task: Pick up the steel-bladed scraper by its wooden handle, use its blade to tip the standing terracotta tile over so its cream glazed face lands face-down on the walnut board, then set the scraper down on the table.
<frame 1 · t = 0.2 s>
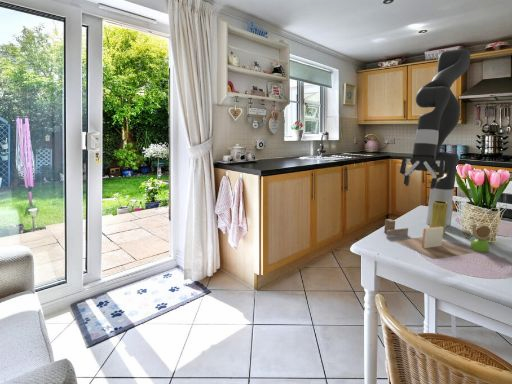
hand: (419, 187, 117), 22 cm above the table, tool pointing down, fingers open, 8 cm apart
scraper: (388, 236, 130), on the table
snail figurine: (477, 254, 113), on the table
vase: (436, 236, 132), on the table
tile: (431, 246, 115), point 1 cm above the table, touching board
pacifier: (474, 244, 122), on the table
board: (431, 250, 115), on the table
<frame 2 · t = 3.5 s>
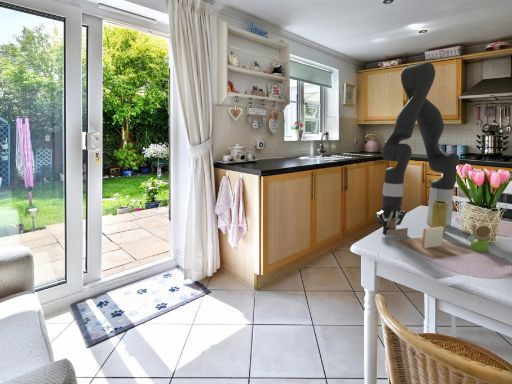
hand: (388, 235, 130), 1 cm above the table, tool pointing down, fingers closed on scraper, 2 cm apart
scraper: (388, 236, 130), on the table, touching gripper
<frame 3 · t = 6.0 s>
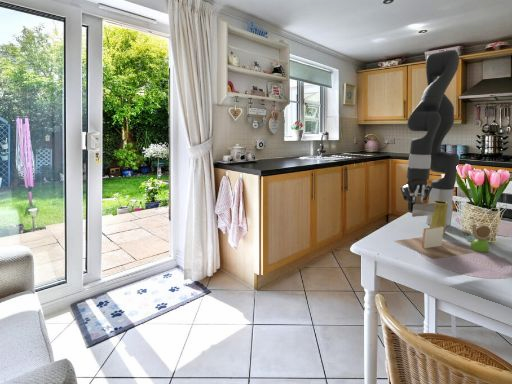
hand: (413, 211, 122), 12 cm above the table, tool pointing down, fingers closed on scraper, 2 cm apart
scraper: (413, 212, 122), point 12 cm above the table, touching gripper
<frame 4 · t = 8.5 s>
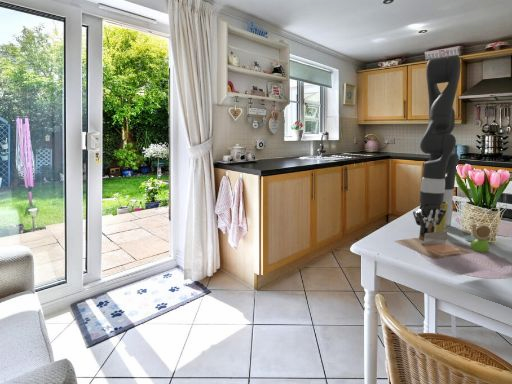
hand: (426, 236, 117), 5 cm above the table, tool pointing down, fingers closed on scraper
scraper: (424, 240, 118), point 3 cm above the table, touching gripper
tile: (433, 245, 114), point 2 cm above the table, tilted 90°, touching board
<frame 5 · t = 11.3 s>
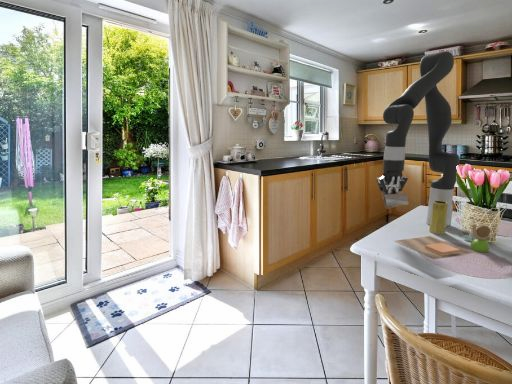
hand: (390, 202, 125), 15 cm above the table, tool pointing down, fingers closed on scraper
scraper: (390, 207, 125), point 13 cm above the table, tilted 27°, touching gripper
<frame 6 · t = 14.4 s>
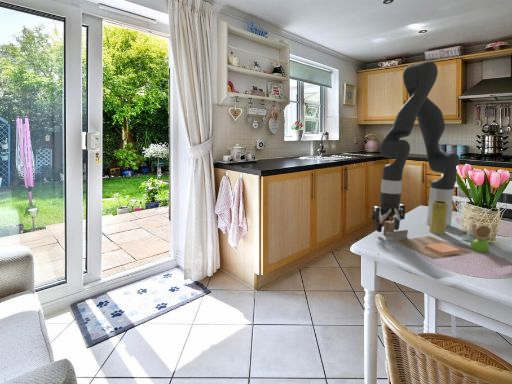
hand: (387, 230, 128), 3 cm above the table, tool pointing down, fingers open, 8 cm apart
scraper: (388, 238, 127), on the table
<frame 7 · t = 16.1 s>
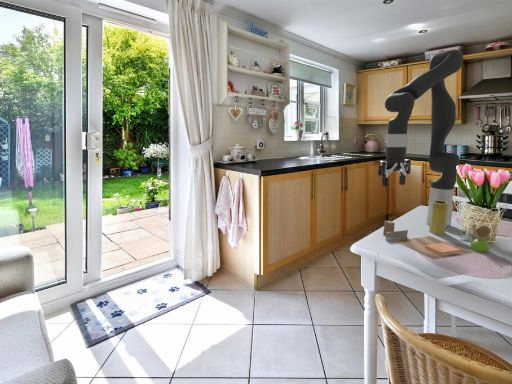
hand: (393, 185, 129), 21 cm above the table, tool pointing down, fingers open, 8 cm apart
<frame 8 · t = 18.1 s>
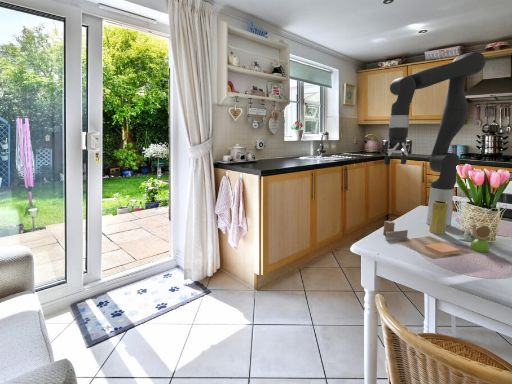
hand: (395, 164, 138), 28 cm above the table, tool pointing down, fingers open, 8 cm apart
at the end: tile tilted 90°; tile inside the target area on the board (2.3 cm from its centre), point 2.1 cm above the board's base; scraper inside the target area (0.9 cm from its centre), on the table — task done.
